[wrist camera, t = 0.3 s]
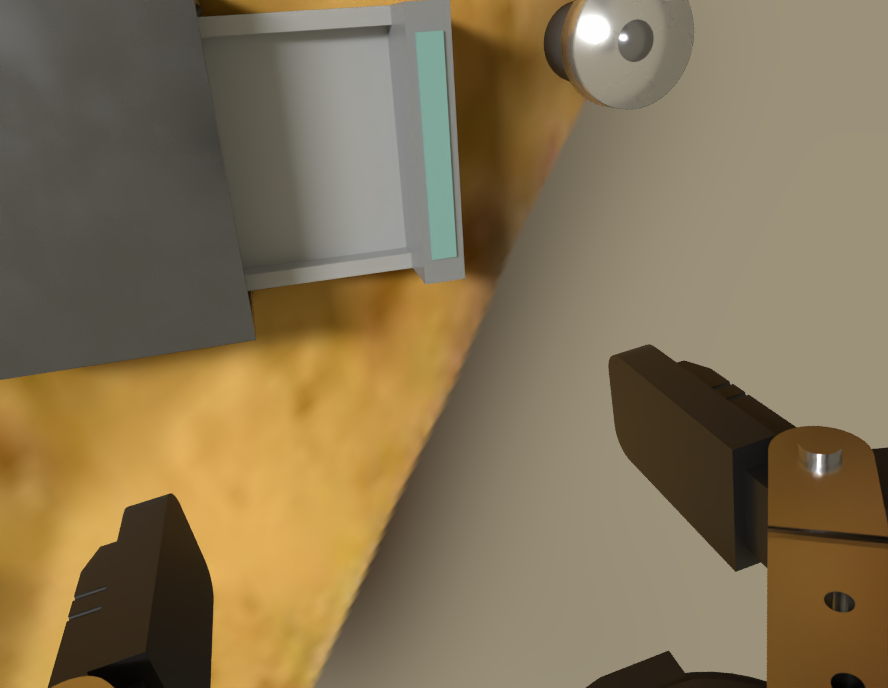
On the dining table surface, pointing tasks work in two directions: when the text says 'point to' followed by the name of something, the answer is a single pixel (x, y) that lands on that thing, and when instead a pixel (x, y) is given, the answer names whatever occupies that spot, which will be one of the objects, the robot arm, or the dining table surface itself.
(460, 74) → the dining table surface
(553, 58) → the capsule
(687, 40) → the disc
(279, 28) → the tray
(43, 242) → the housing
